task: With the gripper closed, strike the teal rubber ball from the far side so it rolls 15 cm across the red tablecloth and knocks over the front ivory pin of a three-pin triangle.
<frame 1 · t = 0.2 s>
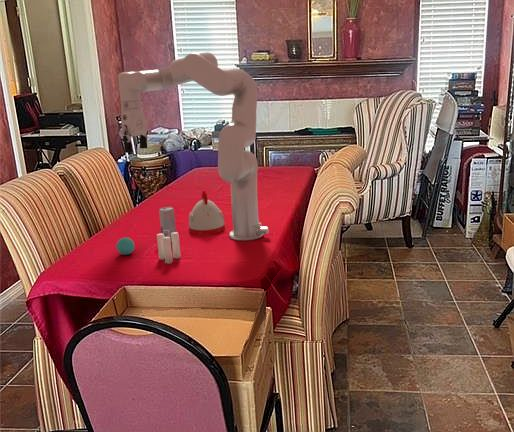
hand: (136, 150, 216), 31 cm above the table, tool pointing down, fingers open, 9 cm apart
front pin: (162, 258, 187), on the table
right back pin: (177, 257, 188), on the table
left back pin: (168, 262, 184), on the table
energy drink: (169, 240, 207), on the table
ball: (125, 246, 193), on the table
kitchen timer: (207, 229, 218), on the table
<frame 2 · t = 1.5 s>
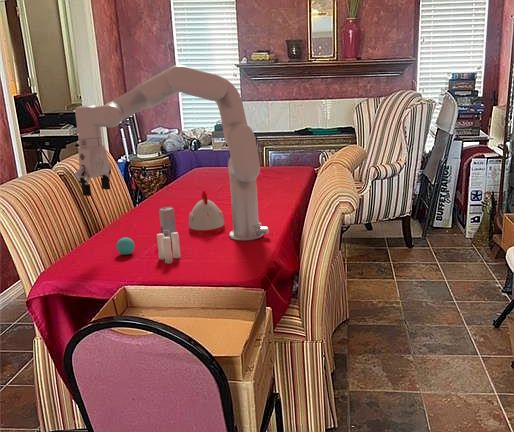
hand: (96, 192, 192), 21 cm above the table, tool pointing down, fingers open, 9 cm apart
nothing on the table moved.
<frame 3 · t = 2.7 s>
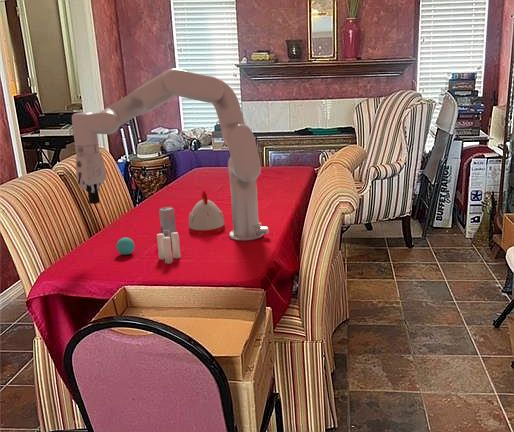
hand: (94, 203, 191), 18 cm above the table, tool pointing down, fingers closed
nothing on the table moved.
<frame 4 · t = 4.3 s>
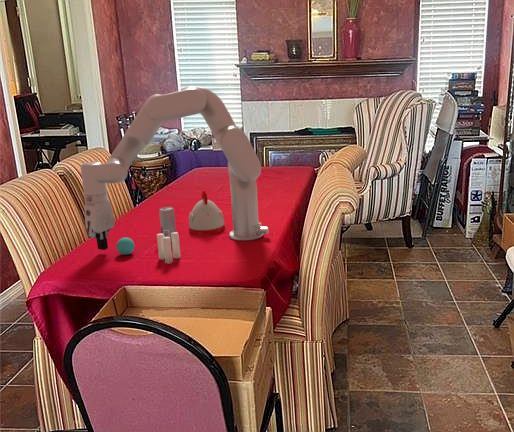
hand: (102, 248, 195), 2 cm above the table, tool pointing down, fingers closed
nothing on the table moved.
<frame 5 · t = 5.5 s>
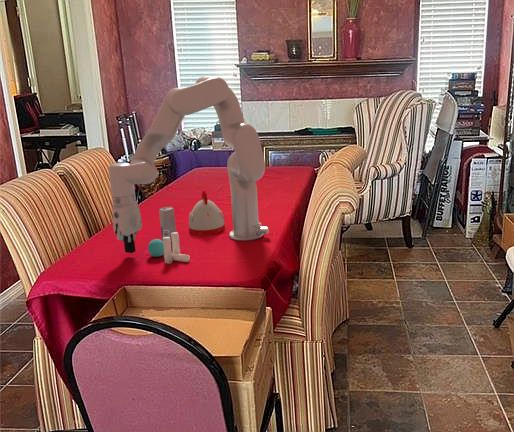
hand: (130, 251, 191), 2 cm above the table, tool pointing down, fingers closed
front pin: (165, 255, 187), point 1 cm above the table, tilted 90°
ball: (156, 247, 189), on the table
everything else where it was.
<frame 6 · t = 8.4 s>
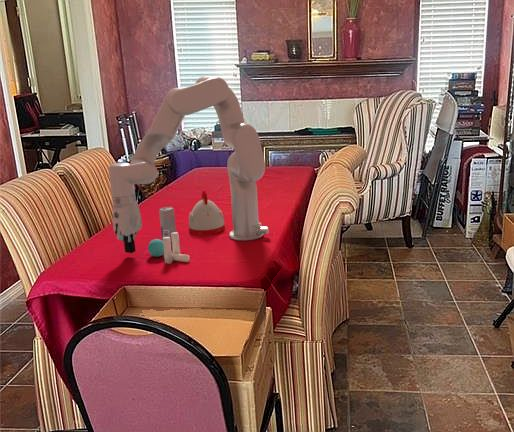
hand: (130, 251, 191), 2 cm above the table, tool pointing down, fingers closed
nothing on the table moved.
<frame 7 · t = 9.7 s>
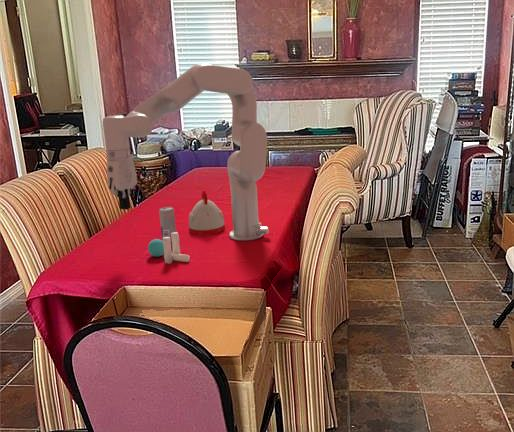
hand: (125, 208, 186), 17 cm above the table, tool pointing down, fingers closed
nothing on the table moved.
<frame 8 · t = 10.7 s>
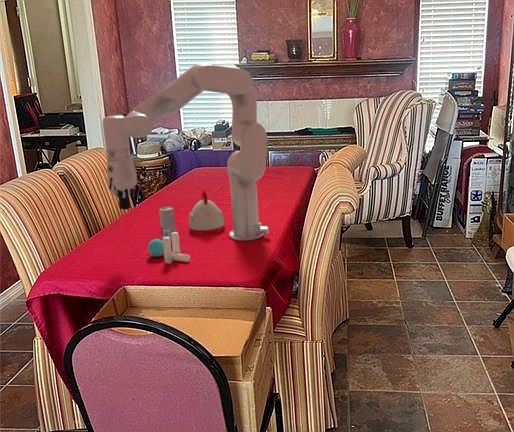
hand: (125, 208, 186), 17 cm above the table, tool pointing down, fingers closed
nothing on the table moved.
at the end: front pin tilted 90°; front pin never touched the robot; ball moved 12.0 cm from its start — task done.
